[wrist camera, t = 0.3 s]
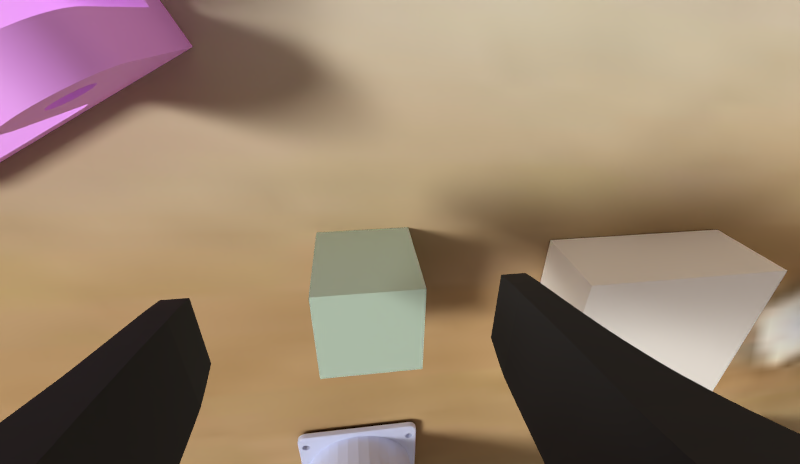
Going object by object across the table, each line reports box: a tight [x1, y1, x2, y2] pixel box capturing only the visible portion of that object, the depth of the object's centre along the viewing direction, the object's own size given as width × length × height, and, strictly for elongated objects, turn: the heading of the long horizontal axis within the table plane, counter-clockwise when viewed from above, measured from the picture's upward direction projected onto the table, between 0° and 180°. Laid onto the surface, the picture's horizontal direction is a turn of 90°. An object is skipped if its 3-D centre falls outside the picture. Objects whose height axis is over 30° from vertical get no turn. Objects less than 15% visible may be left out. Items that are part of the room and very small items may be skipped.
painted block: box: [540, 230, 787, 391], centre depth 22 cm, size 10×10×4 cm
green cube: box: [309, 227, 426, 379], centre depth 18 cm, size 4×4×5 cm
